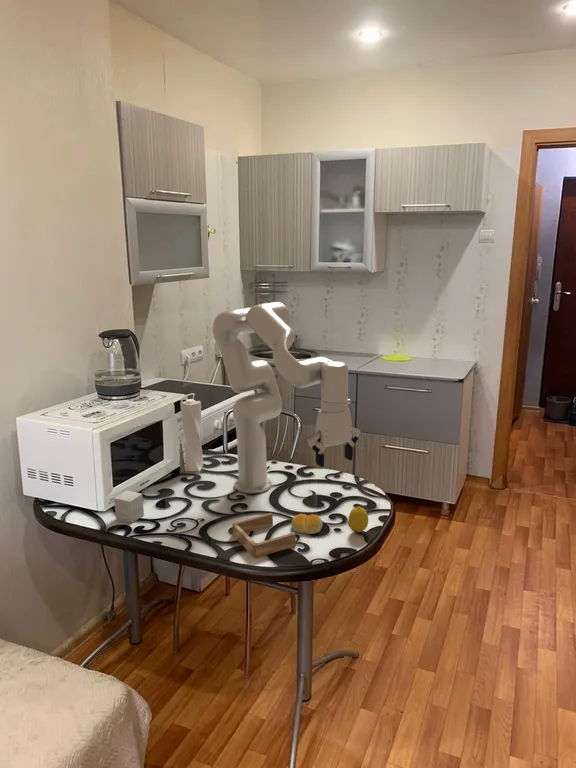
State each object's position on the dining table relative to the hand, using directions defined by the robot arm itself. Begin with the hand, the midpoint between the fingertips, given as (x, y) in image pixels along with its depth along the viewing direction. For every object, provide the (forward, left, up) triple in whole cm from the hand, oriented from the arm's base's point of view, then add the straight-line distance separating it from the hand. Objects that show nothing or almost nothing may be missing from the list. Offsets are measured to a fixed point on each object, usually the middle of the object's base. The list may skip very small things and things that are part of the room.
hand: (334, 462), depth 171 cm
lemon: (+9, +2, -19) cm, 21 cm away
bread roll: (0, -9, -19) cm, 21 cm away
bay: (-1, -23, -18) cm, 30 cm away
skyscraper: (-60, -22, -19) cm, 66 cm away
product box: (-34, -52, -19) cm, 65 cm away
